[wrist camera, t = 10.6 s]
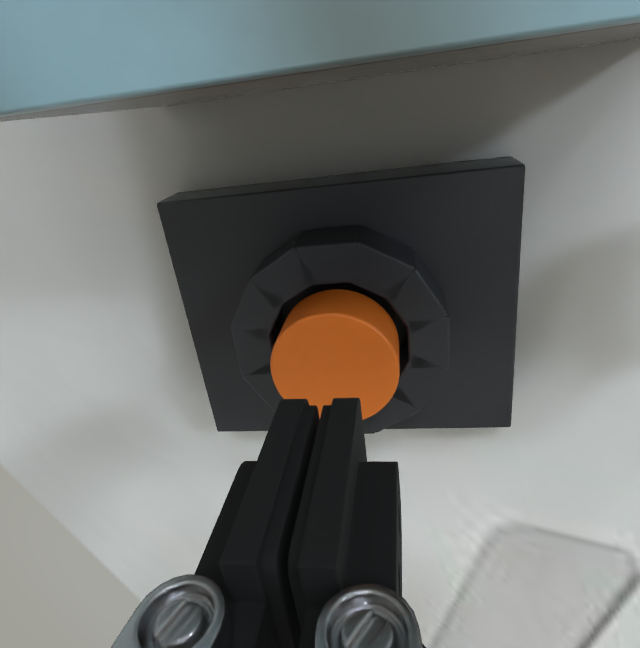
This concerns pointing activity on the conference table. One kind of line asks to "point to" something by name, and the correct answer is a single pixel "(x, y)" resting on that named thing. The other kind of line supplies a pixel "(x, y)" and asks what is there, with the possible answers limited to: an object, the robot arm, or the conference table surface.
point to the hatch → (247, 40)
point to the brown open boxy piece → (355, 71)
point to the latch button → (337, 351)
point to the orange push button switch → (359, 282)
